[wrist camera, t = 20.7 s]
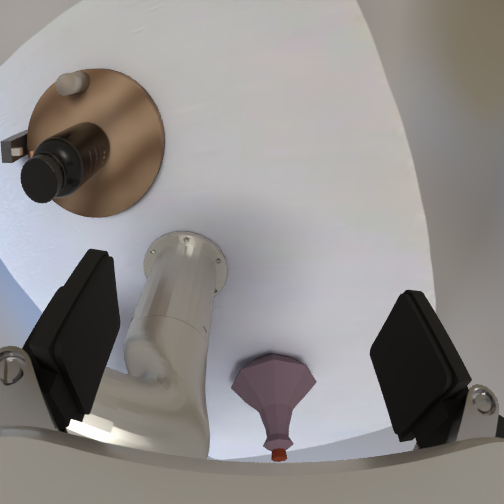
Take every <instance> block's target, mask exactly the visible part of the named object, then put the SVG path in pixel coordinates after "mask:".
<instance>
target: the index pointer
mask: <svg viewBox="0 0 504 504" xmlns="http://www.w3.org/2000/svg"><path fill="white" fill-rule="evenodd" d="M27 134H28V130H25V131H23V132H20V133H18V134H16V135H14V136H11V137H9V138H7V139H5V140H3V141H1V153H2V163H13V162H15V161H16V160H18V159H20V158H22V157H23V156H25V155H27V154H28V150H27Z"/></svg>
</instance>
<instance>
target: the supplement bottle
mask: <svg viewBox="0 0 504 504" xmlns="http://www.w3.org/2000/svg"><path fill="white" fill-rule="evenodd" d="M109 151H110V145H109V140H108V137H107V135H106V133H105V132H104V131H103V130H102V128H100V127H99V126H98V125H96V124H94V123H90V122H82V123H78V124H76V125H73V126H71V127H69V128H67V129H65V130H63V131H61V132H59V133H57V134H55V135H53V136H51V137H49V138H47V139H45V140H44V141H42V142H41V143H40V144H39V145H38V146H37V147H36V149H35V151H34V153H33V155H32V158H30V159H29V160H28V161H27V162H26V163H25V165H24V166H23V169H22V170H21V184H22V187H23V190H24V191H25V193H26V195H28V197H29V198H31V200H33V201H35V202H38V203H47V202H50V201H51V200H52V199H54V198H63V197H67V196H69V195H71V194H72V193H74V192H75V191H76V190H77V189H78V188H80V187H81V186H82V185H83V184H84V183H85V182H86V181H87V180H88V179H89V178H91V177H92V176H93V175H94V174H95V173H96V172H97V171H99V170H100V169H101V168H102V167H103V166H104V164H105V163H106V161H107V159H108V156H109Z"/></svg>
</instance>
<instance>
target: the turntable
mask: <svg viewBox="0 0 504 504" xmlns="http://www.w3.org/2000/svg"><path fill="white" fill-rule="evenodd" d="M82 122H90V123H94V124H96V125H98V126H99V127H100V128H102V130H103V131H104V132H105V133H106V135H107V137H108V140H109V145H110V151H109V156H108V159H107V161H106V163H105V164H104V166H103V167H102V168H101V169H100V170H99V171H97V172H96V173H95V174H94V175H93V176H92V177H91V178H89V179H88V180H87V181H86V182H85V183H84V184H83V185H82V186H81V187H80V188H78V189H77V190H76V191H75V192H74V193H72V194H71V195H69V196H67V197H63V198H54V199H52V200H53V201H54V202H55V203H57V204H58V205H59V206H61V207H62V208H64V209H66V210H68V211H70V212H72V213H74V214H77V215H81V216H85V217H107V216H111V215H115V214H118V213H120V212H122V211H125V210H126V209H128V208H129V207H131V206H132V205H134V204H135V203H136V202H137V201H138V200H139V199H140V198H141V197H142V196H143V195H144V194H145V192H146V191H147V190H148V188H149V187H150V185H151V184H152V183H153V181H154V179H155V178H156V176H157V174H158V172H159V169H160V166H161V163H162V159H163V154H164V144H165V141H164V129H163V123H162V120H161V116H160V113H159V111H158V109H157V106H156V104H155V103H154V101H153V99H152V98H151V96H150V95H149V94H148V92H147V91H146V90H145V89H144V88H143V87H142V86H141V85H140V84H139V83H138V82H137V81H135V80H134V79H132V78H131V77H129V76H127V75H125V74H123V73H121V72H117V71H114V70H110V69H85V70H80V71H76V72H73V73H66V74H62V75H61V76H59V78H58V79H57V81H56V82H55V83H54V84H52V85H51V86H50V87H49V88H48V89H47V90H46V91H45V93H44V94H43V95H42V96H41V98H40V99H39V101H38V103H37V104H36V106H35V108H34V111H33V113H32V116H31V119H30V122H29V127H28V134H27V150H28V157H29V159H30V158H32V155H33V153H34V151H35V149H36V147H37V146H38V145H39V144H40V143H41V142H42V141H44V140H45V139H47V138H49V137H51V136H53V135H55V134H57V133H59V132H61V131H63V130H65V129H67V128H69V127H71V126H73V125H76V124H78V123H82Z"/></svg>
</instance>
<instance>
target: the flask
mask: <svg viewBox="0 0 504 504" xmlns="http://www.w3.org/2000/svg"><path fill="white" fill-rule="evenodd" d="M315 383H316V380H315V379H314V377H313V375H312V374H311V372H310V371H309V369H308V367H307V366H306V365H305V364H303V363H301V362H298V361H296V360H294V359H292V358H290V357H286V356H281V355H276V354H270V355H267V356H264V357H261V358H258V359H255V360H254V361H252V362H251V363H249V364H248V365H247V366H245V367H244V368H242V369H241V370H240V372H239V374H238V376H237V378H236V379H235V381H234V383H233V385H232V387H231V388H232V389H233V390H234V391H235V392H236V393H237V394H238V395H239V396H240V397H241V398H242V399H243V400H244V401H245V402H246V403H247V404H249V405H250V406H251V407H253V408H254V409H256V410H257V411H258V412H259V413H260V416H261V419H262V421H263V424H264V426H265V429H266V434H267V439H266V441H265V443H264V445H263V446H264V447H265V448H266V449H268V450H270V451H272V460H273V461H277V462H280V461H285V460H286V459H287V455H286V451H285V450H287V449H288V448H289V447H291V446H292V445H293V442H292V441H291V439H290V438H289V437H288V435H289V424H290V420H291V415H292V411H293V409H294V408H295V406H296V405H297V404H298V403H299V402H300V401H301V400H302V399H303V398H304V396H305V395H306V394H307V393H308V392H309V391H310V389H311V388H312V387H313V386H314V385H315Z"/></svg>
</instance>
